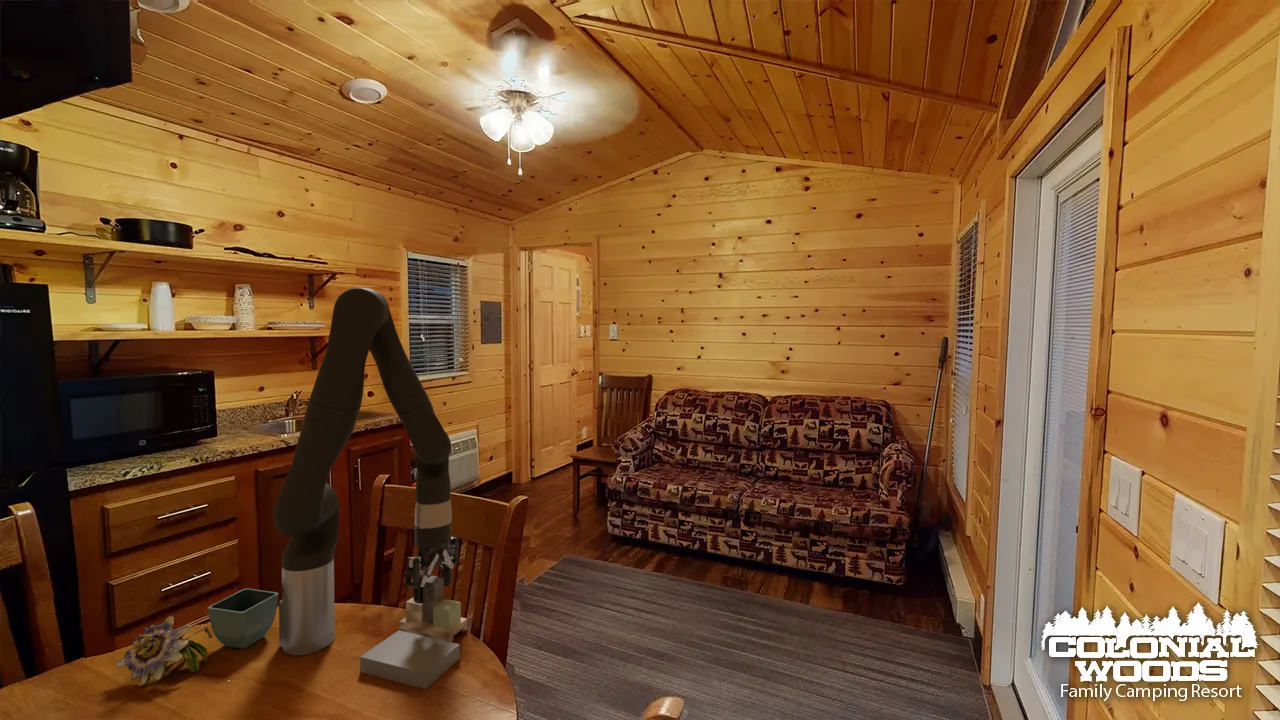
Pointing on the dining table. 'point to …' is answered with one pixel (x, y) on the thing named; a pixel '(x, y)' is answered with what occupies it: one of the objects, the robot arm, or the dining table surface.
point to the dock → (410, 659)
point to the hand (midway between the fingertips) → (433, 593)
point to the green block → (446, 614)
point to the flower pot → (243, 617)
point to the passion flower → (162, 651)
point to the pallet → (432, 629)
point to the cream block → (414, 611)
